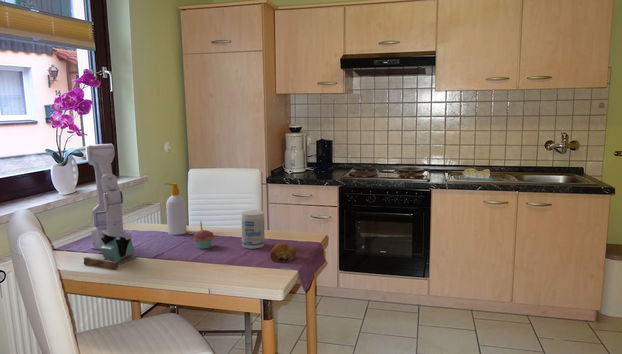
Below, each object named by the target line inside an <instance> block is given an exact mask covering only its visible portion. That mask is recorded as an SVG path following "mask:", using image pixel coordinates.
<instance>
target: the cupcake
mask: <svg viewBox="0 0 622 354" xmlns="http://www.w3.org/2000/svg"><path fill="white" fill-rule="evenodd" d="M199 225H200V230H199V231H197V232H195V233H194V234H193V240H194V241H195V243H196V245H197V248H199V249H208V248H211V243H212V241H213V240H214V238H215V236H214V233H213V232H212V231H210V230H206V229H203V222H202V220H200V222H199Z"/></svg>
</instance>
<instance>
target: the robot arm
mask: <svg viewBox="0 0 622 354" xmlns="http://www.w3.org/2000/svg"><path fill="white" fill-rule="evenodd" d="M115 151H116V150H115V146H114V144H112V143H101V144H99V143H98V144H97V143H96V144H87V146H86V155H87V156H86V157H87V162H88V165H91V166H93V169H94V175H95V185H96V193H97V195H96V197H97V205H96V206H94V207H93V208H92V210H91V223H92V227H93V228H92V230H91V246H90V249H96V250H100V251H102V250H101V247H102V246H104V245H105V244H107V243H109V242H110V241H112V240H113V239H115V238H116V237H117V238H120V239H118V240H116V243H117V245H118V248H119V254H120V257H123V256H125V255H126V250H127V246H128V244H129V242H130V240H131V241H132V233H129V232H127V231H126V230H125V229H124V222H123V221H124V220H123V207H122V205H123V203H124V193H123V191H122V189H121V187H120V186H119V183H118V178H117V176H116V175H115V174H113V170H112V164H111V163H113V161H114V157H115V154H116V153H115Z"/></svg>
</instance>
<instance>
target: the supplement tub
mask: <svg viewBox="0 0 622 354" xmlns="http://www.w3.org/2000/svg"><path fill="white" fill-rule="evenodd" d="M241 246H242V247H243V248H245V249H248V250H249V249H250V250H251V249H252V250H257V249H260V248H263V247H264V246H265V212H264V211H263V210H256V209H255V210H253V209H252V210H245V211H242V212H241ZM256 248H257V249H256Z"/></svg>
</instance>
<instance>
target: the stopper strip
mask: <svg viewBox="0 0 622 354" xmlns="http://www.w3.org/2000/svg"><path fill="white" fill-rule="evenodd" d="M103 259H104V258H103ZM103 259H102V258H96V257H90V256H85V257H83V264H84V265H88V266H94V267H99V268H105V269H110V268H111V270H118V269H119V265H118V262H115V261H109V260H103Z"/></svg>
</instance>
